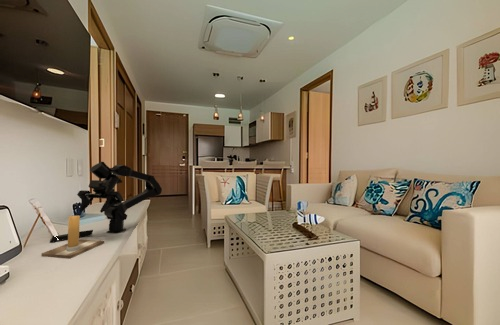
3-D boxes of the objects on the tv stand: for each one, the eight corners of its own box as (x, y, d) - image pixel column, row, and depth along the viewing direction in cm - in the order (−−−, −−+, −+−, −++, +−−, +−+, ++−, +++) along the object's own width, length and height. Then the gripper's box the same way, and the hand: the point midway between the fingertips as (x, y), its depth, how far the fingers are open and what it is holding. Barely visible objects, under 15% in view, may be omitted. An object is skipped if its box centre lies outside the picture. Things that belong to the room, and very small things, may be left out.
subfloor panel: (80, 241, 96) (80, 238, 96) (104, 243, 95) (104, 240, 95) (41, 256, 81) (41, 253, 81) (69, 258, 79) (69, 255, 79)
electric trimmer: (93, 237, 104) (93, 230, 104) (49, 243, 93) (50, 236, 93) (92, 235, 107) (92, 228, 107) (49, 241, 96) (50, 234, 96)
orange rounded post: (69, 248, 86) (70, 215, 86) (81, 247, 87) (82, 215, 87) (64, 252, 82) (65, 217, 82) (76, 250, 83) (78, 217, 84)
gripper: (81, 173, 101) (59, 200, 90) (120, 174, 101) (102, 201, 90) (92, 188, 109) (73, 214, 98) (129, 189, 109) (114, 216, 98)
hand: (90, 211), depth 96 cm, fingers open, 9 cm apart
